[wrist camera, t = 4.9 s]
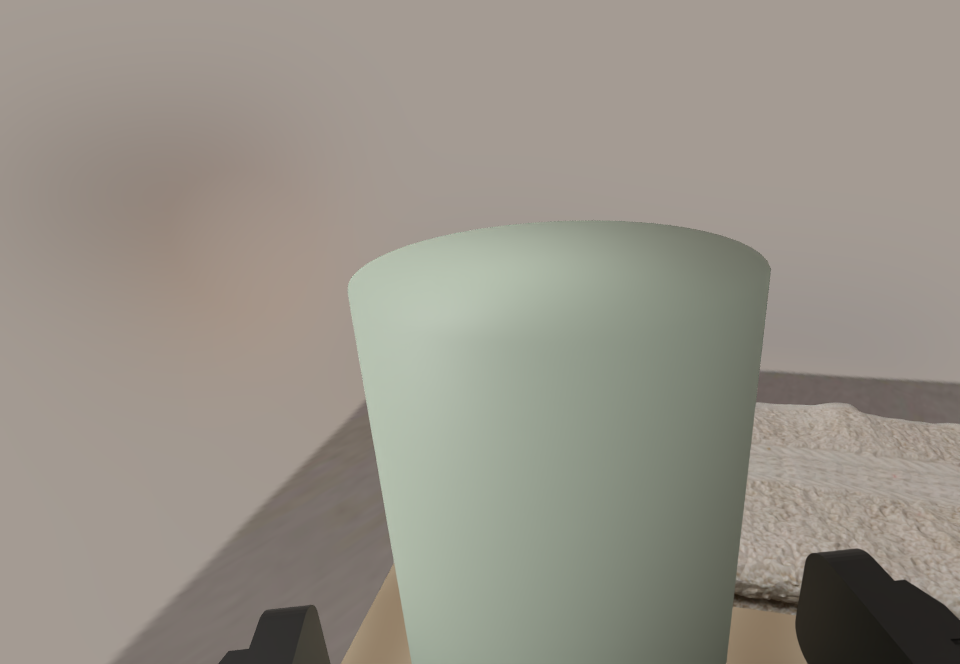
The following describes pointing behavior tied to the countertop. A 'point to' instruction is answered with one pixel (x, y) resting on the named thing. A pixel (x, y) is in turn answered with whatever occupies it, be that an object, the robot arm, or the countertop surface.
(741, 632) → the pocket block
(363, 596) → the countertop surface
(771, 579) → the washcloth
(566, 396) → the green cylinder
